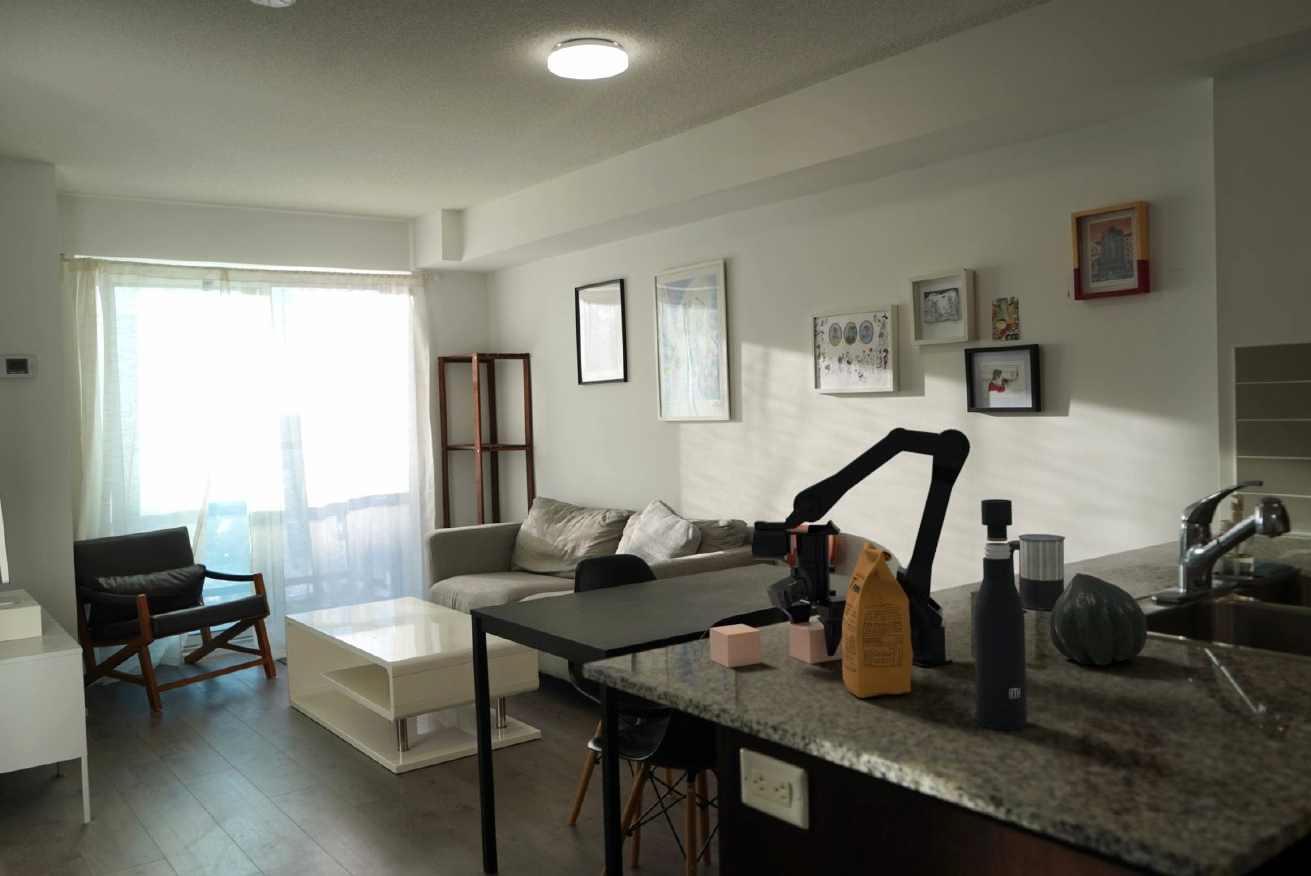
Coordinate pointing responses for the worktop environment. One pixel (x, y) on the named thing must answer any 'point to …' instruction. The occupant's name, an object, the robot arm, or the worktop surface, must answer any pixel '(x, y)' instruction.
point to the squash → (1097, 622)
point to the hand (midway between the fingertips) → (815, 650)
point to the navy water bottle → (999, 630)
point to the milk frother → (1039, 569)
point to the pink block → (735, 645)
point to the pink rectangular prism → (810, 643)
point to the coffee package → (876, 629)
